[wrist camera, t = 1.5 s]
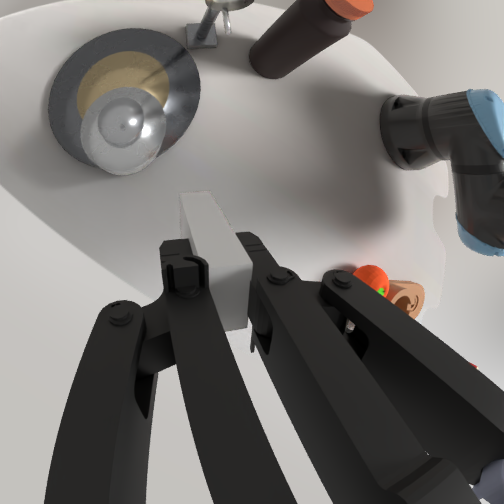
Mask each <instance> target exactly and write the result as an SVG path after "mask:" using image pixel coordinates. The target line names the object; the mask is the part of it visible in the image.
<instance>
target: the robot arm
mask: <svg viewBox="0 0 504 504" xmlns="http://www.w3.org/2000/svg"><path fill="white" fill-rule="evenodd" d="M380 127H381V134H382V138H383V141H384V144H385V147H386V149H387V151H388V153H389V155H390V156H391V158H392V159H393V160H394V162H395V163H396V164H397V165H398V166H400V167H401V168H403V169H405V170H421V169H424V168H426V167H428V166H430V165H432V164H434V163H437V162H439V161H441V160H450V161H451V167H452V175H453V182H454V191H455V202H456V220H457V225H458V234H459V237H460V239H461V240H462V242H463V243H464V244H465V245H466V246H467V247H468V248H470V249H471V250H473V251H475V252H478V253H480V254H483V255H487V256H493V255H497V256H504V103H503V102H502V100H501V99H500V98H499V97H498V95H497V94H496V93H494V92H493V91H491V90H488V89H482V90H481V89H480V90H473V89H469V90H467V91H464V92H458V93H452V94H447V95H441V96H436V97H431V98H423V97H416V96H409V95H398V96H394V97H391V98H389V99H388V100H387V101H386V102H385V103H384V105H383V107H382V110H381V115H380ZM179 199H180V226H181V239H176V240H167V241H163V243H162V245H161V246H160V248H159V249H160V259H161V268H162V270H161V271H162V279H163V286H164V289H163V293H162V295H161V296H160V297H159V298H158V299H157V300H156V301H154V302H153V303H151V304H149V305H147V306H144V307H140V305H138V304H136V303H135V302H132V301H127V300H122V301H116V302H113V303H110V304H108V305H107V306H105V307H104V308H103V309H102V310H101V312H100V313H99V315H98V317H97V319H96V322H95V324H94V327H93V329H92V332H91V334H90V337H89V339H88V342H87V344H86V347H85V349H84V352H83V355H82V358H81V360H80V363H79V366H78V369H77V372H76V374H75V377H74V380H73V383H72V387H71V389H70V393H69V396H68V399H67V403H66V406H65V409H64V412H63V416H62V419H61V423H60V427H59V431H58V435H57V439H56V443H55V447H54V451H53V456H52V460H51V466H50V470H49V476H48V481H47V487H46V494H45V500H44V504H146V486H147V471H148V458H149V447H150V436H151V425H152V418H153V410H154V401H155V394H156V387H157V379H158V372H159V371H162V370H164V369H166V368H168V367H171V366H173V365H175V364H176V365H177V370H178V375H179V380H180V384H181V389H182V394H183V398H184V402H185V407H186V411H187V414H188V419H189V422H190V427H191V431H192V434H193V438H194V441H195V445H196V449H197V452H198V456H199V459H200V463H201V466H202V469H203V473H204V476H205V479H206V482H207V485H208V488H209V491H210V494H211V497H212V500H213V503H214V504H297V502H296V500H295V498H294V495H293V493H292V491H291V489H290V487H289V485H288V483H287V481H286V479H285V477H284V474H283V472H282V470H281V468H280V466H279V464H278V461H277V459H276V457H275V455H274V452H273V450H272V448H271V446H270V443H269V442H268V439H267V437H266V434H265V432H264V430H263V427H262V425H261V423H260V420H259V418H258V416H257V413H256V411H255V408H254V406H253V403H252V401H251V398H250V396H249V394H248V391H247V389H246V386H245V384H244V381H243V378H242V376H241V373H240V371H239V368H238V366H237V363H236V361H235V358H234V355H233V353H232V350H231V347H230V345H229V342H228V339H227V337H226V334H225V332H226V331H232V330H238V329H243V328H247V325H248V317H249V319H250V321H251V323H252V325H253V326H252V335H251V345H250V350H251V353H252V352H254V348H255V345H256V347H257V350H258V352H259V354H260V356H261V358H262V361H263V363H264V365H265V367H266V369H267V371H268V374H269V376H270V378H271V380H272V382H273V384H274V386H275V388H276V390H277V393H278V395H279V397H280V399H281V401H282V403H283V405H284V407H285V410H286V412H287V414H288V416H289V418H290V420H291V422H292V424H293V426H294V428H295V430H296V432H297V434H298V436H299V438H300V440H301V442H302V444H303V446H304V448H305V450H306V452H307V454H308V456H309V458H310V460H311V462H312V464H313V466H314V468H315V470H316V472H317V474H318V476H319V478H320V479H321V482H322V483H323V485H324V487H325V489H326V491H327V493H328V495H329V497H330V498H331V500H332V502H333V504H481V502H480V501H479V500H480V499H482V498H484V499H485V500H486V501H488V502H489V503H490V504H504V391H503V390H501V389H500V388H499V387H498V386H497V385H496V384H494V383H493V382H492V381H491V380H490V379H488V378H487V377H486V376H485V375H484V374H482V373H481V372H480V371H479V370H478V369H476V368H475V367H474V366H473V365H472V364H470V363H469V362H468V361H467V360H465V359H464V358H463V357H462V356H460V355H459V354H458V353H457V352H455V351H454V350H453V349H452V348H450V347H449V346H448V345H447V344H445V343H444V342H443V341H442V340H440V339H439V338H438V337H436V336H435V335H434V334H433V333H431V332H430V331H429V330H427V329H426V328H425V327H423V326H422V325H421V324H420V323H418V322H417V321H416V320H414V319H413V318H412V317H410V316H409V315H408V314H406V313H405V312H404V311H402V310H401V309H400V308H398V307H397V306H396V305H394V304H393V303H392V302H390V301H389V300H388V299H386V298H385V297H384V296H382V295H381V294H380V293H378V292H377V291H375V290H374V289H373V288H371V287H370V286H369V285H367V284H366V283H364V282H363V281H362V280H360V279H359V278H357V277H356V276H355V275H353V274H351V273H349V272H346V271H343V270H331V271H328V272H326V273H325V274H324V276H323V279H322V282H314V281H302V280H301V279H300V278H299V276H298V275H297V274H296V273H295V272H294V271H292V270H290V269H288V268H285V267H280V266H279V265H278V264H277V262H276V261H275V260H274V258H273V257H272V255H271V254H270V253H269V251H268V250H267V248H266V247H265V246H264V245H263V243H262V241H261V240H260V239H259V237H258V236H256V235H254V234H253V233H251V232H239V233H235V232H234V231H233V229H232V227H231V226H230V224H229V222H228V221H227V219H226V217H225V216H224V214H223V212H222V210H221V209H220V207H219V205H218V204H217V202H216V200H215V199H214V197H213V195H212V194H211V192H210V191H197V192H183V193H179ZM349 320H350V321H351V322H353V323H354V324H355V327H354V330H349V329H348V328H347V324H348V322H349ZM425 451H426V452H427V453H428V454H429V455H428V454H427V453H426V452H425ZM469 484H471V485H474V487H473V488H472V489H471V487H470V485H469Z"/></svg>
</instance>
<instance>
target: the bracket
mask: <svg viewBox="0 0 504 504" xmlns="http://www.w3.org/2000/svg"><path fill="white" fill-rule="evenodd" d="M424 297H425V293H424V288H423V287H422V286H421V285H420V284H417V283H414V282H411V281H397V280H389V291H388V294H387V296H386V299H388V300H389V301H390V302H392V303H393V304H394V305H396V306H397V307H398V308H400V309H401V310H402V311H404V312H405V313H406V314H408V315H409V316H410V317H412V318H413V319H415V318H416V317H417V316H418V314H419V313H420V311H421V309H422V306H423V303H424Z"/></svg>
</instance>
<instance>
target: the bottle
mask: <svg viewBox="0 0 504 504" xmlns="http://www.w3.org/2000/svg"><path fill="white" fill-rule="evenodd" d="M373 7H374V5H373V1H372V0H296V1H295V2H294V3H293V4H292V5H291V6H290V7H289V8H288V9H287V10H286V11H285V12H284V13H283V14H282V15H281V16H280V17H279V18H278V19H277V20H276V21H275V22H274V24H273V25H272V26H271V27H270V28H269V29H268V30H267V31H266V32H265V33H264V34H263V35H262V36H261V38H260V39H259V40H258V41H257V42H256V43H255V44H254V45H253V47H252V48H251V49H250V53H249V59H250V63H251V65H252V67H253V68H254V69H255V70H256V71H257V72H258V73H259V74H261V75H262V76H264V77H267V78H271V79H278V78H282V77H284V76H286V75H287V74H289V73H290V72H291V71H293V70H294V69H296V68H297V67H299V66H300V65H301V64H303V63H304V62H306V61H307V60H309V59H310V58H312V57H313V56H315V55H316V54H318V53H319V52H321V51H323V50H324V49H326V48H327V47H329V46H330V45H332V44H334V43H335V42H337V41H339V40H340V39H342V38H344V37H345V36H347V35H348V34H349V32H350V30H351V21H355V20H357V19H359V18H361V17H363V16H364V15H366V14H368V13H370V12H371V11H372V10H373Z"/></svg>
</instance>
